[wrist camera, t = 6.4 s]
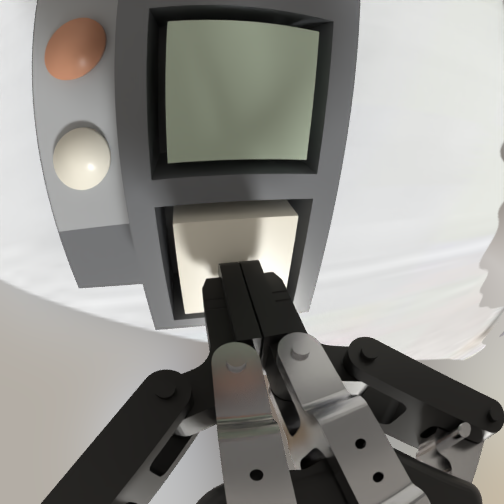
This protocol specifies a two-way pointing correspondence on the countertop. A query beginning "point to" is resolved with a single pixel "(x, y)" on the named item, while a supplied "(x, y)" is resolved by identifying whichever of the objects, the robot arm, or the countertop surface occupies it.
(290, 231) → the key cream
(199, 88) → the key sage
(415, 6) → the countertop surface
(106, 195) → the keypad
